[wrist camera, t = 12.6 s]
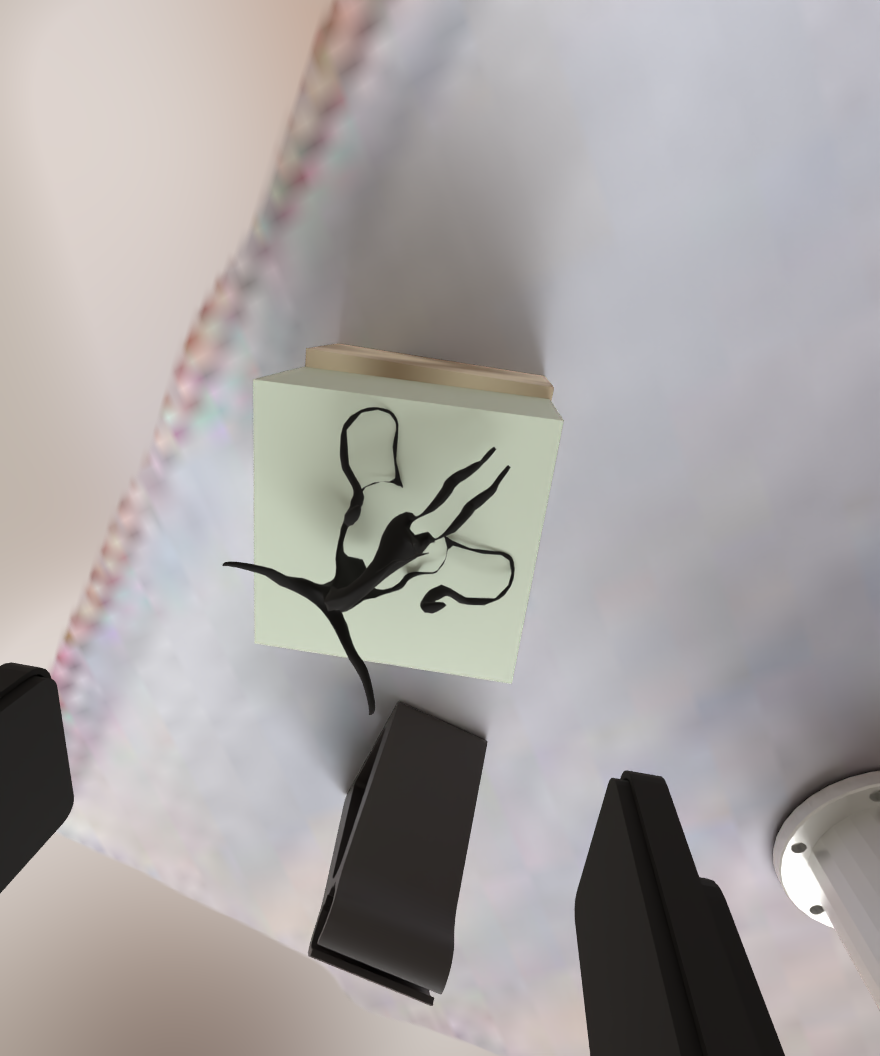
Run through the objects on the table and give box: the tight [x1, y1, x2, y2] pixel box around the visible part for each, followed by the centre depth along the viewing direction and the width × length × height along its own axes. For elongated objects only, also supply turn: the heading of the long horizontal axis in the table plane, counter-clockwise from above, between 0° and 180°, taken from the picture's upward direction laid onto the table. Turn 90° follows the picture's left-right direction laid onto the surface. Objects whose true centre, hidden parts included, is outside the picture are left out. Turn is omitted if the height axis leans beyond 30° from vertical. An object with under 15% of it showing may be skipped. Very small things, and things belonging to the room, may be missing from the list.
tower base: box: [305, 343, 554, 400], centre depth 26 cm, size 10×10×5 cm
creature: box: [223, 407, 515, 715], centre depth 17 cm, size 8×5×8 cm
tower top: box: [253, 367, 564, 684], centre depth 22 cm, size 10×10×5 cm
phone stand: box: [308, 701, 487, 1006], centre depth 30 cm, size 9×6×12 cm, turn 155°
